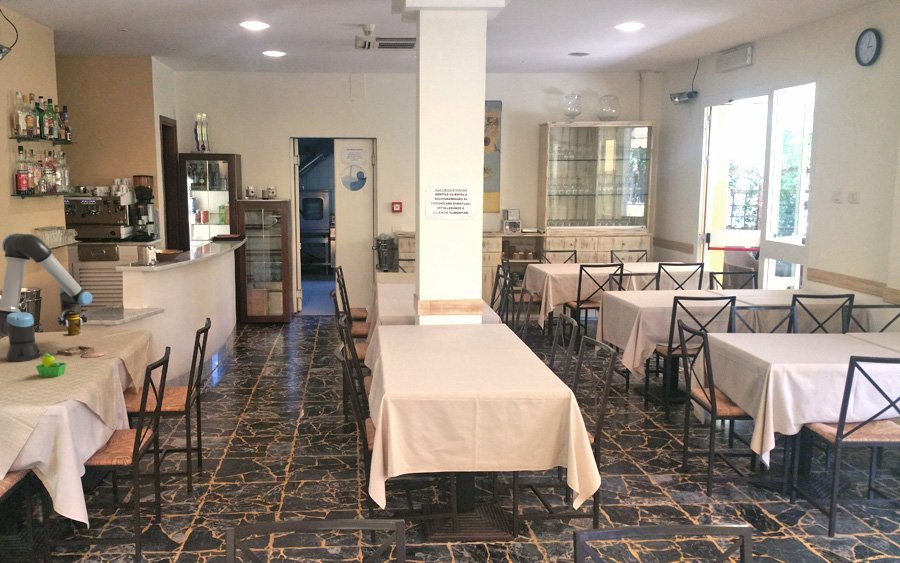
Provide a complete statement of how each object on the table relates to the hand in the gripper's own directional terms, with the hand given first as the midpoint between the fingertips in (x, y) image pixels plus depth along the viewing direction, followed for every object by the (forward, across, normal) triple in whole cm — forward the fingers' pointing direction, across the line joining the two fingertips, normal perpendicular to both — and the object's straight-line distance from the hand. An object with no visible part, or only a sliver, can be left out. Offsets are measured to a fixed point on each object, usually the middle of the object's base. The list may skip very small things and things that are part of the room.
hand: (74, 323), depth 393 cm
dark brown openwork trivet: (-5, 0, -16) cm, 17 cm away
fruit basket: (+41, +15, -17) cm, 47 cm away
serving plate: (+8, -8, -16) cm, 20 cm away
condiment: (-5, +1, -7) cm, 9 cm away
